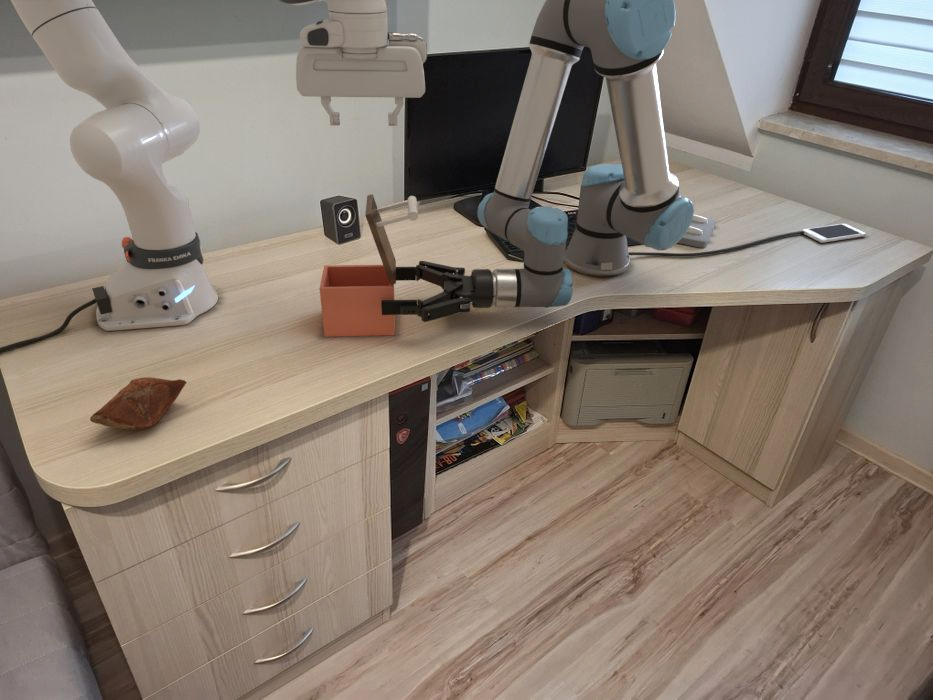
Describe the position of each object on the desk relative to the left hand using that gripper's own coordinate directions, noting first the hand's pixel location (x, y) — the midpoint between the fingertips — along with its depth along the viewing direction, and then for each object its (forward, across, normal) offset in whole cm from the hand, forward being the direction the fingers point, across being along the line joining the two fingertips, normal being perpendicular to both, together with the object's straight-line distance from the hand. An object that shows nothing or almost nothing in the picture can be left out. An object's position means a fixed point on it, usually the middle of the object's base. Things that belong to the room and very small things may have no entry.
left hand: (364, 124), depth 105 cm
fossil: (+38, +35, +28) cm, 59 cm away
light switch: (+38, -80, -44) cm, 99 cm away
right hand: (+31, -2, 0) cm, 31 cm away
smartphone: (+38, -121, -40) cm, 133 cm away
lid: (+21, -1, 0) cm, 21 cm away
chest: (+38, +3, 0) cm, 38 cm away
